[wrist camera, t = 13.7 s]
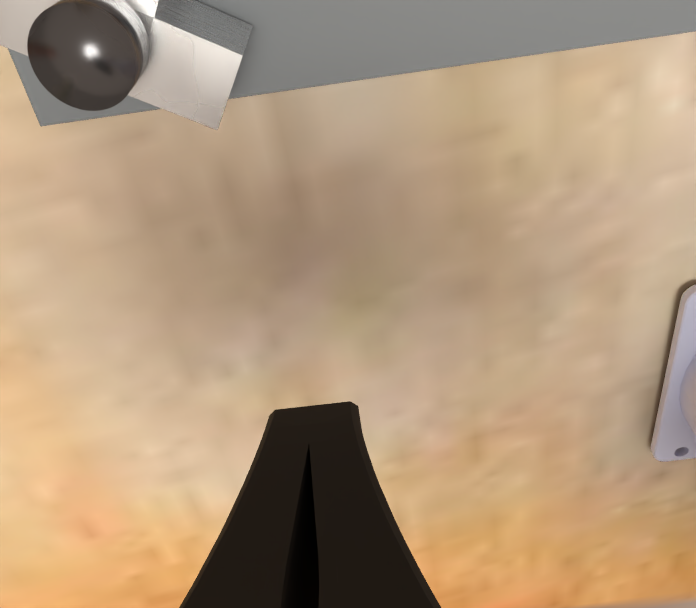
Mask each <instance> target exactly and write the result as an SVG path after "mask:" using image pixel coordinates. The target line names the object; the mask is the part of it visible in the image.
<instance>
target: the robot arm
mask: <svg viewBox="0 0 696 608" xmlns="http://www.w3.org/2000/svg"><path fill="white" fill-rule="evenodd" d="M650 449H651V453H652V454H653V456H654V458H655V459H656V460H658V461H674V460H683V459H692V458H696V284H695V285H693V286H691V287H689V288H688V289H687V290H686V291H685V292H684V293H683V295H682V297H681V300H680V305H679V310H678V315H677V320H676V325H675V330H674V335H673V340H672V344H671V349H670V354H669V359H668V364H667V369H666V374H665V379H664V384H663V389H662V394H661V398H660V403H659V408H658V413H657V418H656V423H655V428H654V433H653V438H652V443H651V448H650ZM179 608H441V606H440V605H439V603H438V601H437V600H436V598H435V596H434V594H433V593H432V591H431V589H430V587H429V585H428V584H427V582H426V580H425V578H424V576H423V575H422V573H421V571H420V569H419V567H418V565H417V563H416V561H415V559H414V557H413V556H412V554H411V552H410V550H409V548H408V546H407V544H406V542H405V540H404V538H403V536H402V534H401V532H400V530H399V527H398V525H397V523H396V521H395V519H394V517H393V515H392V512H391V510H390V508H389V505H388V503H387V501H386V498H385V496H384V494H383V492H382V489H381V487H380V485H379V482H378V479H377V477H376V474H375V472H374V469H373V466H372V463H371V460H370V457H369V454H368V451H367V448H366V445H365V441H364V438H363V434H362V429H361V422H360V416H359V409H358V406H357V405H355V404H354V403H352V402H341V403H332V404H323V405H315V406H306V407H297V408H288V409H279V410H275V411H274V412H273V413H272V414H271V415H270V416H269V419H268V422H267V425H266V428H265V431H264V434H263V437H262V440H261V442H260V445H259V448H258V450H257V453H256V455H255V458H254V460H253V463H252V465H251V467H250V470H249V472H248V475H247V477H246V479H245V482H244V484H243V486H242V488H241V490H240V493H239V495H238V497H237V499H236V501H235V503H234V505H233V508H232V510H231V512H230V514H229V516H228V518H227V520H226V523H225V525H224V527H223V529H222V531H221V533H220V535H219V537H218V539H217V540H216V542H215V544H214V546H213V548H212V550H211V552H210V553H209V555H208V557H207V559H206V561H205V563H204V565H203V567H202V568H201V570H200V572H199V574H198V576H197V578H196V580H195V581H194V583H193V585H192V587H191V589H190V590H189V592H188V594H187V595H186V597H185V599H184V600H183V602H182V604H181V606H180V607H179Z"/></svg>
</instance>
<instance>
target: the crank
mask: <svg viewBox="0 0 696 608" xmlns="http://www.w3.org/2000/svg"><path fill="white" fill-rule="evenodd" d="M252 27H253V26H252V25H250V24H247V23H245V22H243V21H241V20H238V19H236V18H234V17H231V16H229V15H227V14H225V13H222V12H220V11H218V10H216V9H213V8H211V7H209V6H207V5H204V4H202V3H200V2H198V1H195V0H0V45H1V46H4V47H6V48H9V49H11V50H14V51H16V52H19V53H22V54H24V55H27V56H29V61H30V64H31V67H32V69H33V71H34V73H35V75H36V76H37V78H38V80H39V81H40V82H41V84H42V85H43V86H44V87H45V88H46V90H47V91H48V92H50V93H51V94H52V95H53V96H54V97H56V98H57V99H58V100H60V101H61V102H63V103H65V104H67V105H69V106H71V107H74V108H77V109H81V110H86V111H100V110H105V109H108V108H111V107H113V106H115V105H117V104H119V103H120V102H121V101H122V100H123V99H124V98H125V97H126V96H127V95H128V96H131V97H134V98H136V99H139V100H141V101H144V102H146V103H149V104H151V105H154V106H156V107H159V108H162V109H164V110H167V111H169V112H172V113H174V114H177V115H179V116H182V117H184V118H187V119H190V120H192V121H195V122H197V123H200V124H202V125H205V126H207V127H210V128H212V129H215V130H218V127H219V124H220V121H221V118H222V115H223V112H224V109H225V107H226V104H227V101H228V98H229V95H230V92H231V89H232V86H233V83H234V80H235V77H236V74H237V71H238V68H239V65H240V62H241V59H242V56H243V53H244V51H245V48H246V45H247V42H248V39H249V36H250V33H251V30H252Z"/></svg>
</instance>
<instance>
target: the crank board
mask: <svg viewBox="0 0 696 608" xmlns="http://www.w3.org/2000/svg"><path fill="white" fill-rule="evenodd" d="M195 1H198V2H200V3H202V4H204V5H207V6H209V7H211V8H213V9H216V10H218V11H220V12H222V13H225V14H227V15H229V16H231V17H234V18H236V19H238V20H241V21H243V22H245V23H247V24H250V25H252V26H253V27H252V30H251V33H250V36H249V39H248V42H247V45H246V48H245V51H244V53H243V56H242V59H241V62H240V65H239V68H238V71H237V74H236V77H235V80H234V83H233V86H232V89H231V92H230V95H229V98H228V99H232V98H239V97H246V96H253V95H260V94H267V93H274V92H281V91H288V90H294V89H301V88H308V87H315V86H322V85H329V84H336V83H343V82H350V81H356V80H363V79H370V78H377V77H384V76H391V75H398V74H405V73H412V72H418V71H425V70H432V69H439V68H446V67H453V66H460V65H467V64H474V63H481V62H487V61H494V60H501V59H508V58H515V57H522V56H529V55H536V54H543V53H549V52H556V51H563V50H570V49H577V48H584V47H591V46H598V45H605V44H611V43H618V42H625V41H632V40H639V39H646V38H653V37H660V36H667V35H673V34H680V33H687V32H694V31H696V0H195ZM8 50H9V52H10V55H11V57H12V59H13V62H14V64H15V67H16V69H17V71H18V74H19V76H20V78H21V81H22V83H23V86H24V88H25V90H26V93H27V95H28V97H29V100H30V102H31V105H32V107H33V109H34V112H35V114H36V116H37V119H38V121H39V124H40V126H46V125H53V124H60V123H67V122H74V121H81V120H88V119H95V118H101V117H108V116H115V115H122V114H129V113H136V112H143V111H150V110H157V109H162V108H159V107H156V106H154V105H151V104H149V103H146V102H144V101H141V100H139V99H136V98H134V97H131V96H128V95H127V96H126V97H125V98H124V99H123V100H122V101H121V102H120V103H119V104H117V105H115V106H113V107H111V108H108V109H105V110H100V111H86V110H81V109H77V108H74V107H71V106H69V105H67V104H65V103H63V102H61V101H60V100H58V99H57V98H56V97H54V96H53V95H52V94H51V93H50V92H48V91H47V90H46V88H45V87H44V86H43V85H42V84H41V82H40V81H39V80H38V78H37V76H36V75H35V73H34V71H33V69H32V67H31V64H30V61H29V56H27V55H24V54H22V53H19V52H16V51H14V50H11V49H9V48H8Z"/></svg>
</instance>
